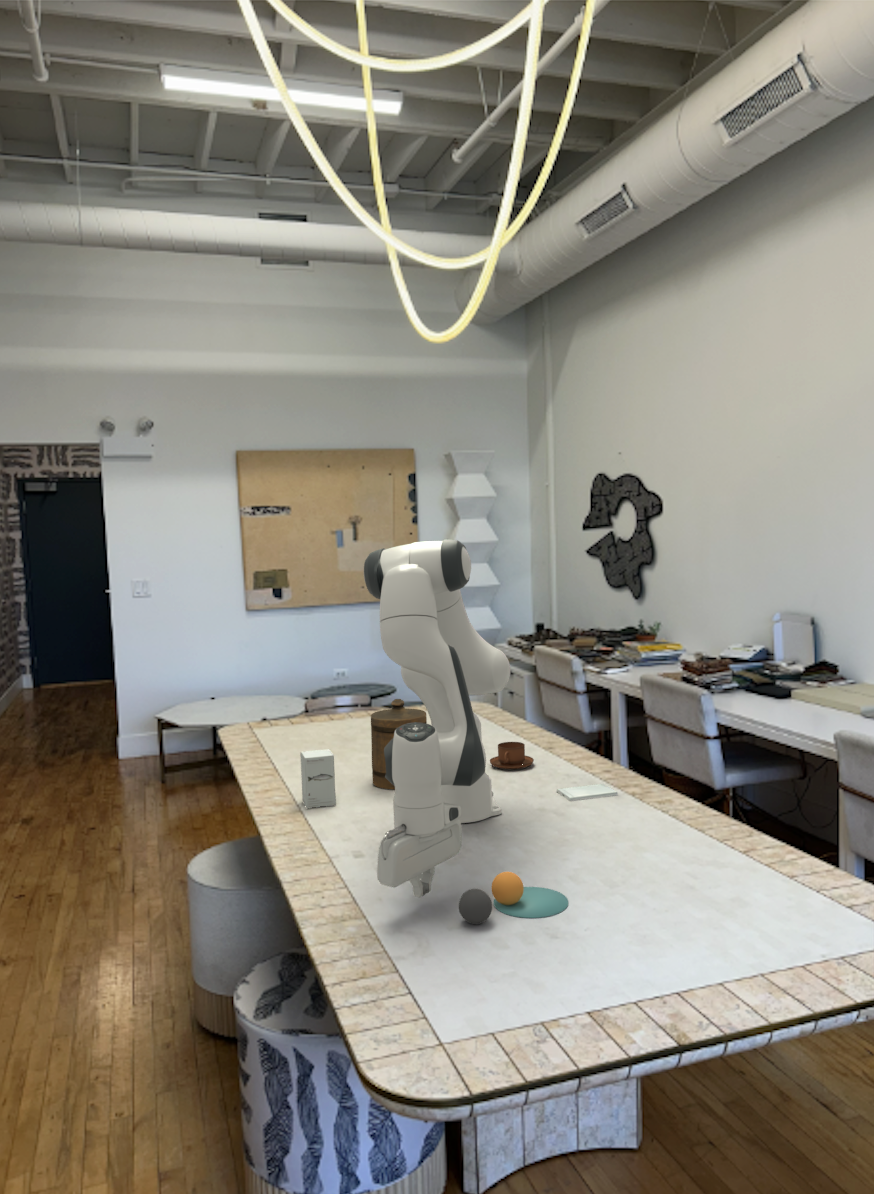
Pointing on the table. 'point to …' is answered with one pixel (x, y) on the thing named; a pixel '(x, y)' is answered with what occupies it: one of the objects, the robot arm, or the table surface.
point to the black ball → (475, 906)
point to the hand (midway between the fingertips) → (422, 894)
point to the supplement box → (318, 778)
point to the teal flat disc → (535, 903)
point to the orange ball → (507, 888)
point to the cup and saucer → (511, 756)
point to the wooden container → (389, 736)
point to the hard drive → (586, 792)
